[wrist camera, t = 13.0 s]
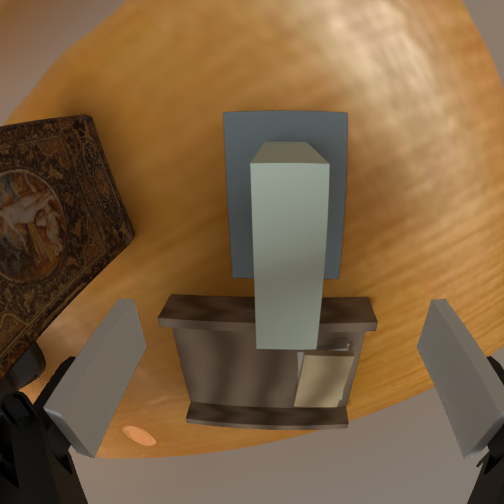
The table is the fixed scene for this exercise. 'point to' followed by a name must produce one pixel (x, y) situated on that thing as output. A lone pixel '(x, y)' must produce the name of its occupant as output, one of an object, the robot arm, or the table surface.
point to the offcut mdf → (322, 347)
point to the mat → (239, 174)
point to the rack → (255, 362)
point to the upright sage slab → (288, 243)
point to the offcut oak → (322, 377)
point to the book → (52, 224)
